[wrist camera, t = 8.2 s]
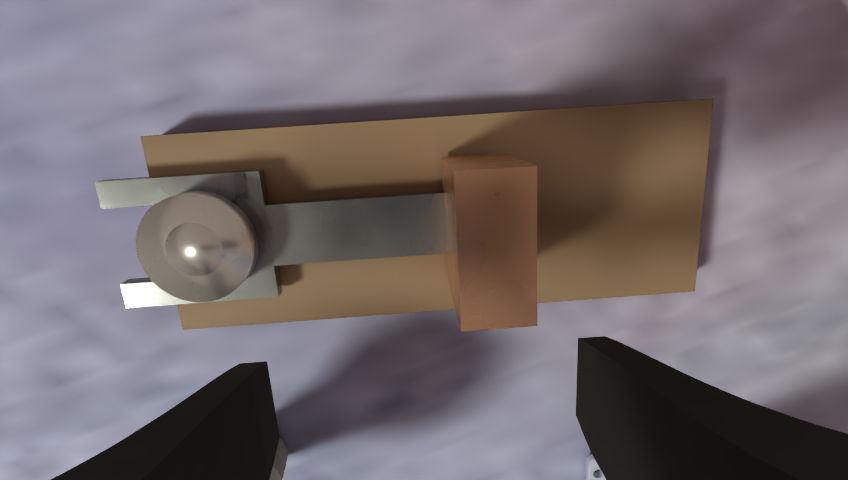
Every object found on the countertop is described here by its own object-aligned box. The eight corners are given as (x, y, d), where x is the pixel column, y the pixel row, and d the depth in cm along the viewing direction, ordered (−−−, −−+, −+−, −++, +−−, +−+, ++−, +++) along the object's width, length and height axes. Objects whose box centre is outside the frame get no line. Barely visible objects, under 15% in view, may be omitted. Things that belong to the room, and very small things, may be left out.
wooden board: (675, 279, 21) (694, 291, 20) (198, 314, 21) (182, 329, 20) (690, 100, 19) (713, 98, 18) (160, 134, 19) (140, 136, 17)
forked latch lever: (512, 274, 19) (546, 324, 15) (134, 302, 19) (46, 363, 14) (510, 152, 18) (547, 165, 13) (104, 179, 18) (-4, 203, 13)
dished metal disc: (275, 277, 19) (259, 298, 17) (178, 285, 19) (149, 306, 17) (260, 181, 18) (241, 190, 16) (157, 188, 18) (124, 198, 16)
